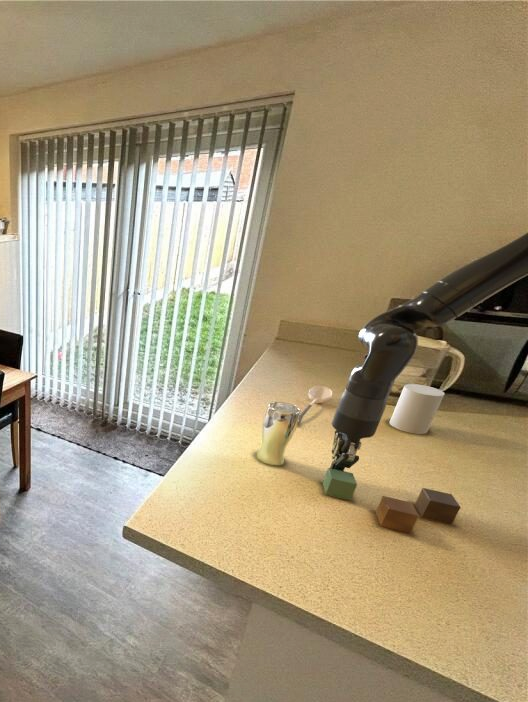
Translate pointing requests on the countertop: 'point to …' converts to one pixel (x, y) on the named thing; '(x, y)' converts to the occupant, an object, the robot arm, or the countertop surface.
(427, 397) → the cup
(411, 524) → the oak block
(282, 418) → the beer glass
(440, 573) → the countertop surface
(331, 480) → the sage block
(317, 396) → the ladle
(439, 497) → the walnut block
